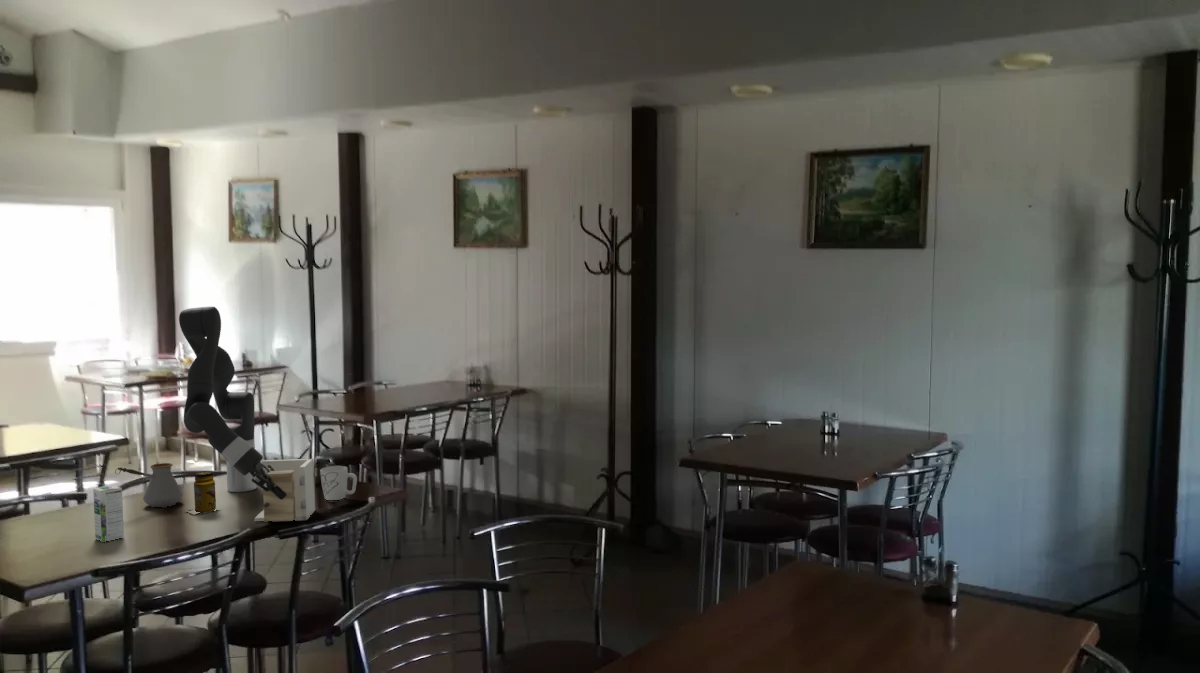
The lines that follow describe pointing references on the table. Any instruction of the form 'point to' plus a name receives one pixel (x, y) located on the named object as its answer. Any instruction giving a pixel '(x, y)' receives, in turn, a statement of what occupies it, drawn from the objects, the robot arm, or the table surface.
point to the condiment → (204, 492)
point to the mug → (336, 482)
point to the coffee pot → (159, 486)
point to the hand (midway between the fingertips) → (286, 495)
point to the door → (277, 507)
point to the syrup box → (108, 513)
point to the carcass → (297, 485)
